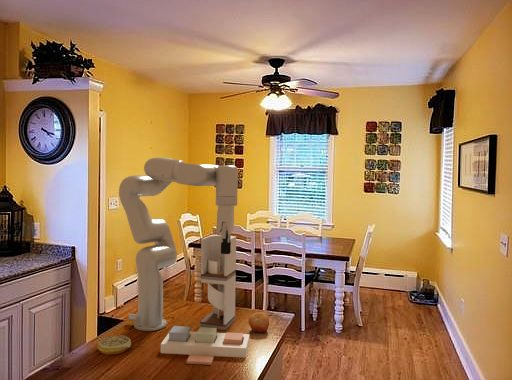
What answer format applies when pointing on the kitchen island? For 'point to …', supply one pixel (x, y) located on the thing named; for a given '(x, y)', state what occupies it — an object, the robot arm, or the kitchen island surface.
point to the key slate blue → (179, 333)
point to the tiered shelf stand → (219, 281)
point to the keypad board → (206, 346)
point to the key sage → (206, 335)
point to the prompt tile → (200, 359)
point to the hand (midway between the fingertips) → (225, 253)
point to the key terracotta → (233, 338)
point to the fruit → (259, 322)
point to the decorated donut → (114, 344)
